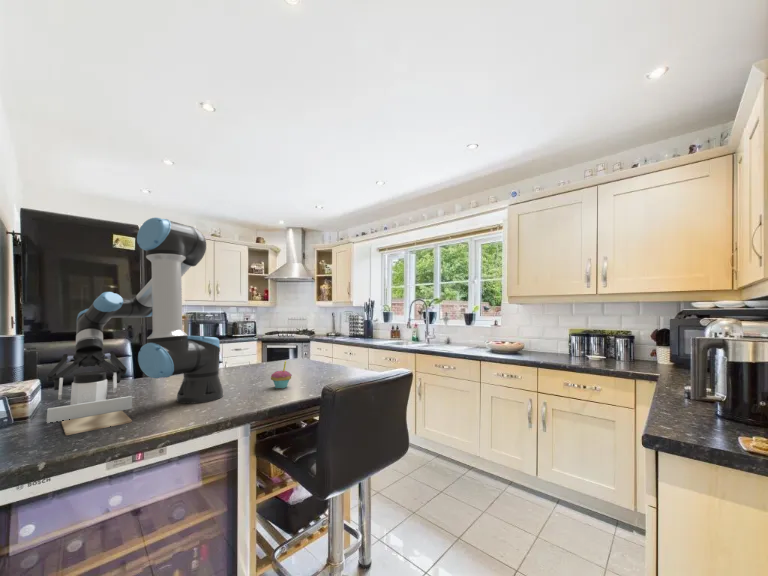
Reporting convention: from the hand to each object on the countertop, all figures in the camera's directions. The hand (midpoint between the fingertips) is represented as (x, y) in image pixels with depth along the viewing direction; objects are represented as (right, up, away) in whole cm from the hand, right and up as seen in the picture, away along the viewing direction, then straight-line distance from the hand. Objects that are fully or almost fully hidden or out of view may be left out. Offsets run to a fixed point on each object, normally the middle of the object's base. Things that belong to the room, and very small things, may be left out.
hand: (88, 393), depth 109 cm
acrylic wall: (+6, -5, -5) cm, 9 cm away
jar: (-1, -6, 0) cm, 6 cm away
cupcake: (+53, -8, +33) cm, 63 cm away
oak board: (+13, -4, -13) cm, 19 cm away
